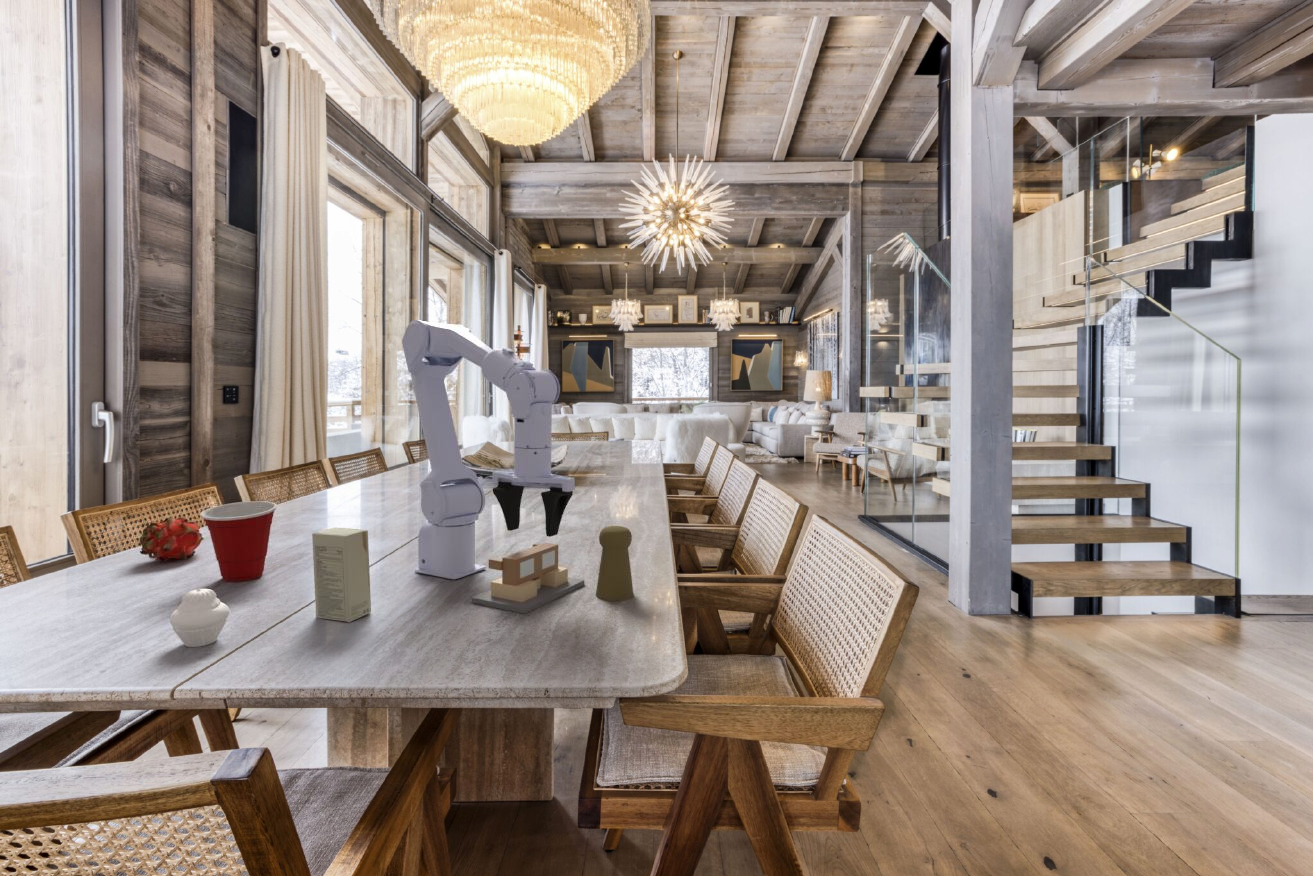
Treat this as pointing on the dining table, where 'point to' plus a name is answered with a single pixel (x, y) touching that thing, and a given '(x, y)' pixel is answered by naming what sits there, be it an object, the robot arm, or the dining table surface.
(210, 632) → the muffin
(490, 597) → the gray tray with blocks
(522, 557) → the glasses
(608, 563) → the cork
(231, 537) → the plastic cup
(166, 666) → the dining table surface
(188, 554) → the dragon fruit
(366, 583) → the skincare box
